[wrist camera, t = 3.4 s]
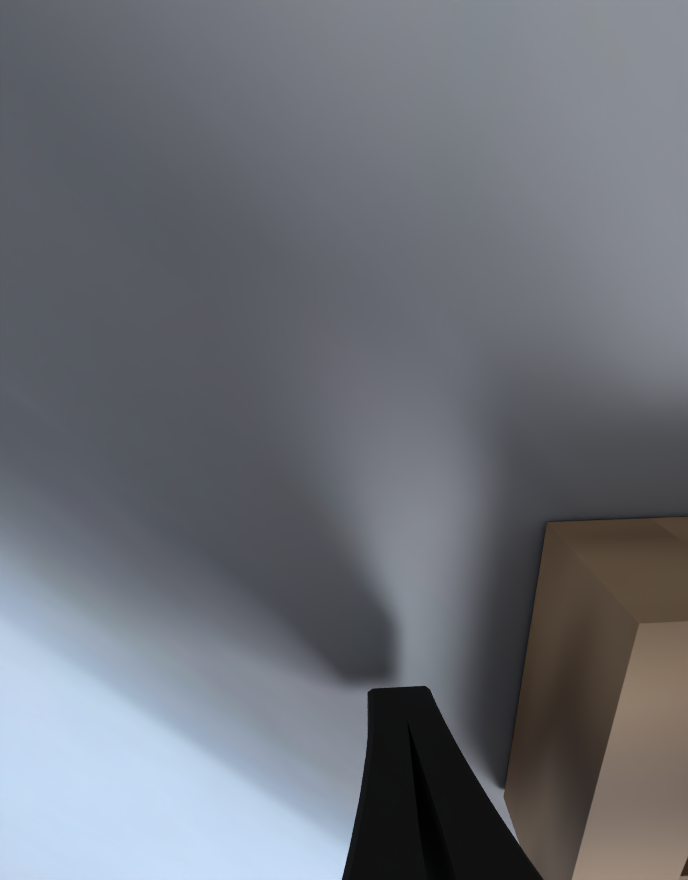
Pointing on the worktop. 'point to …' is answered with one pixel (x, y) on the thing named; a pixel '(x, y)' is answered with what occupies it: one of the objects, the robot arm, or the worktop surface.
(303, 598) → the worktop surface
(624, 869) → the block
